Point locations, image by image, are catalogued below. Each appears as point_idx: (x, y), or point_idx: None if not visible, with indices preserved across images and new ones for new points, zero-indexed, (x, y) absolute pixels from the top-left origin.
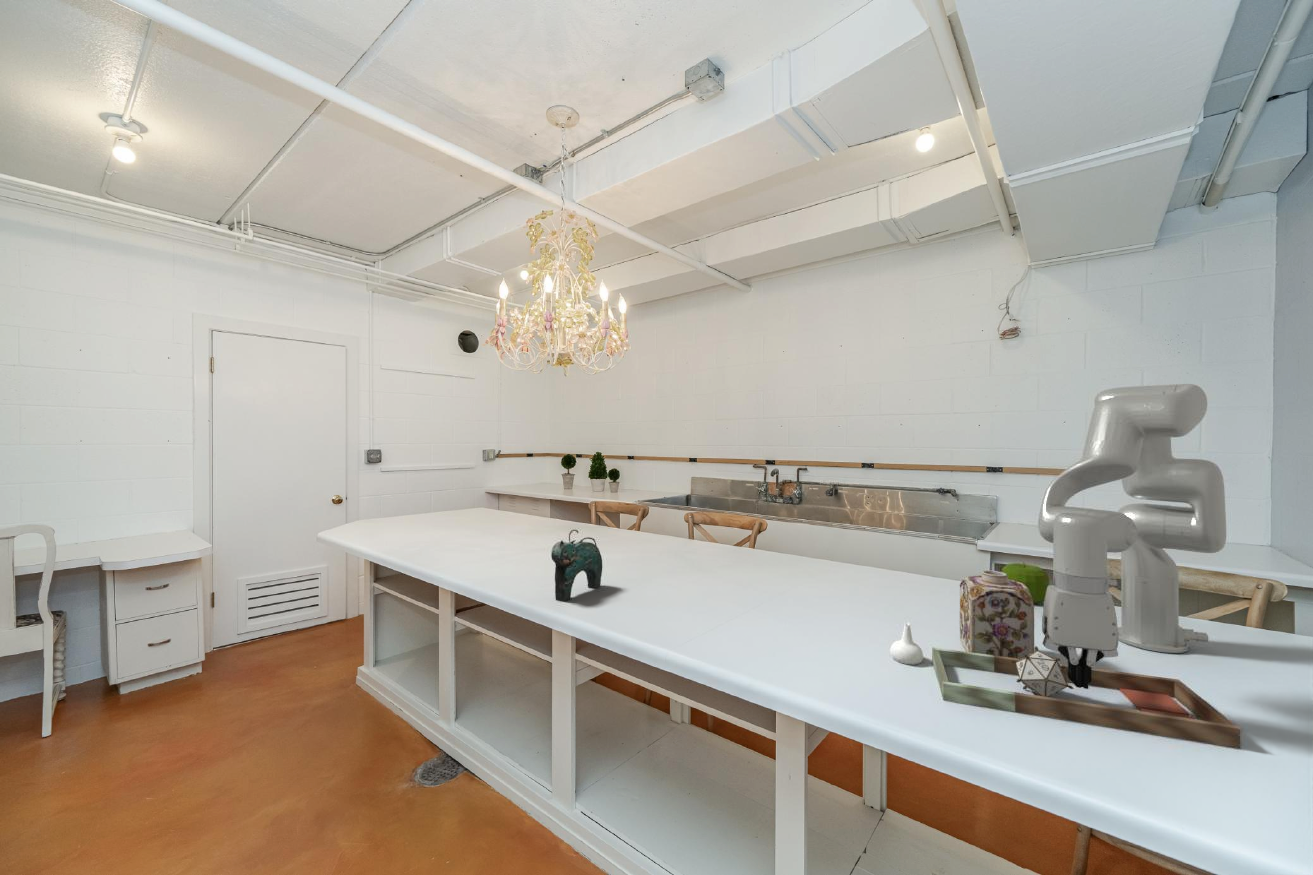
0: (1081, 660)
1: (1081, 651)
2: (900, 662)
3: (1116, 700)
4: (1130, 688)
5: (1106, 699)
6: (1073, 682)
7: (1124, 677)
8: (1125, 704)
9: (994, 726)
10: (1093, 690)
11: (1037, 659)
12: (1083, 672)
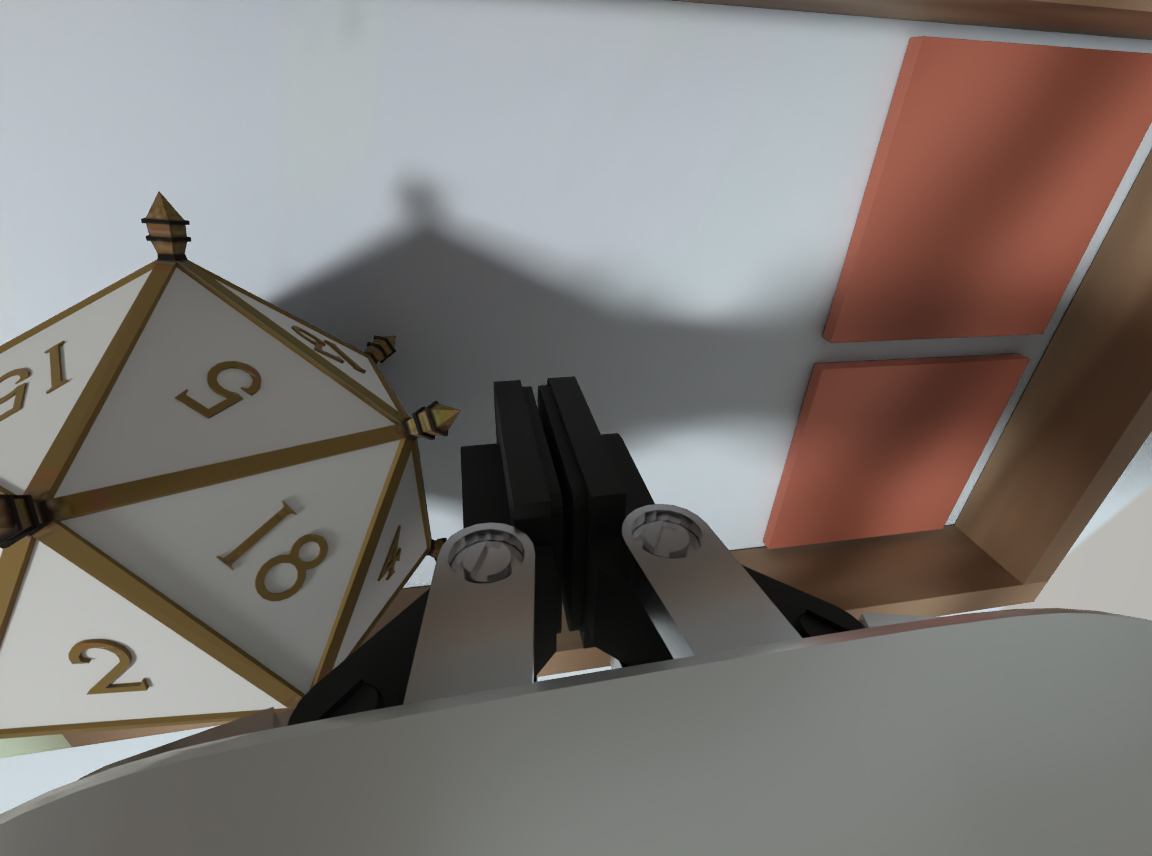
0: (592, 611)
1: (660, 594)
2: None
3: (769, 259)
4: (1004, 21)
5: (711, 268)
6: (496, 435)
7: (1053, 7)
8: (789, 302)
9: (60, 782)
10: (699, 119)
11: (98, 725)
12: (562, 594)
